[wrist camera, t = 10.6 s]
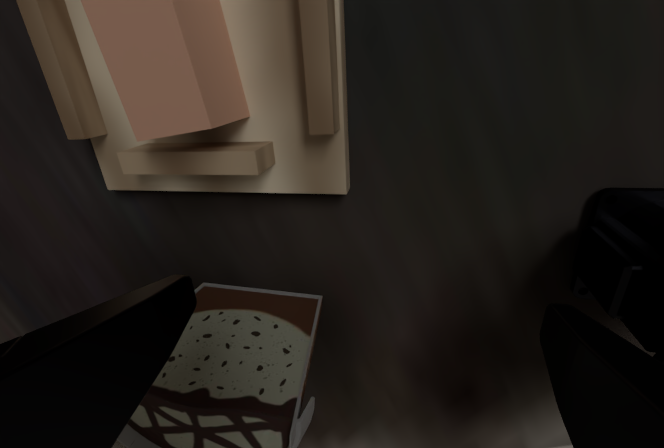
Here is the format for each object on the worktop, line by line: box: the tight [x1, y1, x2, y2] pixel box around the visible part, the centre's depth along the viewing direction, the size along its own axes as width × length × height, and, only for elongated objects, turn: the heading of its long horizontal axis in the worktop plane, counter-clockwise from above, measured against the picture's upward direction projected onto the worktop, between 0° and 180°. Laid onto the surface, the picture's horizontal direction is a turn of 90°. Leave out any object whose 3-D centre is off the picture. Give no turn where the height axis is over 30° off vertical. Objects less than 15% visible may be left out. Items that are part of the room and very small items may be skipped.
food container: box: [117, 283, 323, 448], centre depth 22 cm, size 12×6×10 cm, turn 91°
